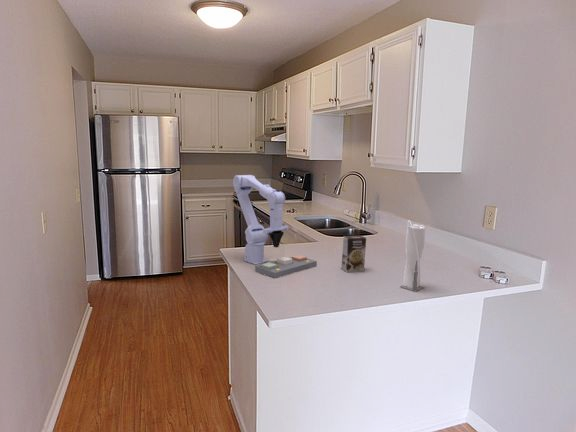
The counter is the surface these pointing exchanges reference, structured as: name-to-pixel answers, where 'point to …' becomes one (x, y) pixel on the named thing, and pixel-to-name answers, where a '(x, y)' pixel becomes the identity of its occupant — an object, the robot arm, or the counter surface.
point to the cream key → (284, 261)
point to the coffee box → (353, 253)
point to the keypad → (287, 268)
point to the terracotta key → (298, 258)
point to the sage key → (269, 266)
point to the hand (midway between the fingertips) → (276, 247)
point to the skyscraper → (413, 257)
